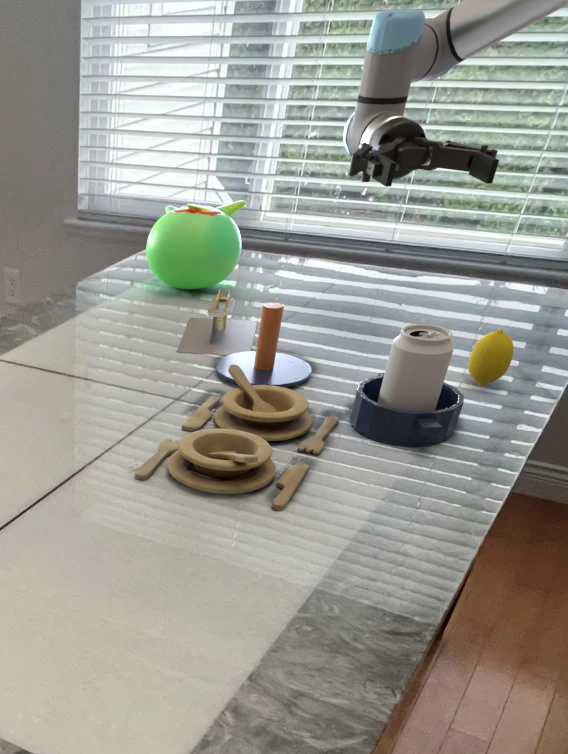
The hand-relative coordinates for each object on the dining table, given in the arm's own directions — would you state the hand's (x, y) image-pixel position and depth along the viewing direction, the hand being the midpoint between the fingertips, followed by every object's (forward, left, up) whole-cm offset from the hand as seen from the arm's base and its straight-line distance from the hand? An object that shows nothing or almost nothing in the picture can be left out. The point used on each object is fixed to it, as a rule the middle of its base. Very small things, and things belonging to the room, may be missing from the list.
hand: (442, 173), depth 113 cm
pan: (+5, +21, -26) cm, 34 cm away
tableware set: (+28, +27, -26) cm, 47 cm away
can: (+5, +21, -26) cm, 33 cm away
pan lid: (+20, +1, -25) cm, 32 cm away
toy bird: (+25, -46, -26) cm, 59 cm away
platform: (+24, -17, -26) cm, 40 cm away
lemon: (-11, +7, -26) cm, 29 cm away
